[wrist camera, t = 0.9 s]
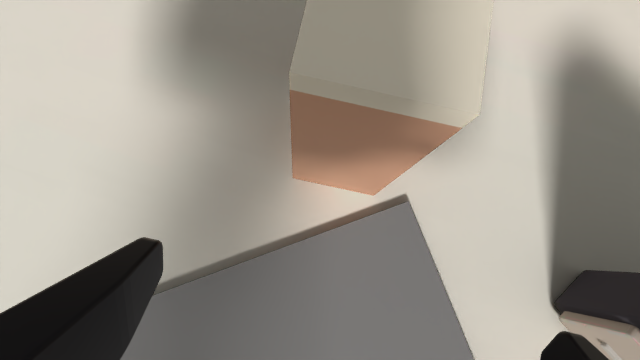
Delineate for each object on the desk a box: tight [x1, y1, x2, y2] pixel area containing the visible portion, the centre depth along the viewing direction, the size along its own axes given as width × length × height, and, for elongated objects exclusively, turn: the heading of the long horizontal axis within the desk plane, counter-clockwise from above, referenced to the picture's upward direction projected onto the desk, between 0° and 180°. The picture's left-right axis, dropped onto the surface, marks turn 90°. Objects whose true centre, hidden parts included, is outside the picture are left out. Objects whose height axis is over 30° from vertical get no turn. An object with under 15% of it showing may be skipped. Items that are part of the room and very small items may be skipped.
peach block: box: [289, 0, 494, 196], centre depth 16 cm, size 5×5×13 cm
